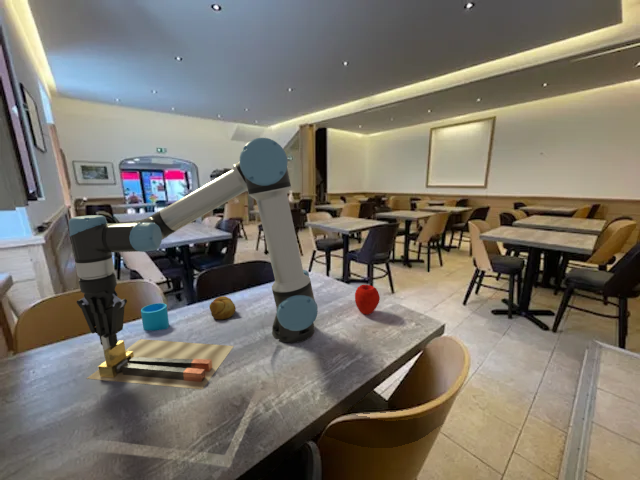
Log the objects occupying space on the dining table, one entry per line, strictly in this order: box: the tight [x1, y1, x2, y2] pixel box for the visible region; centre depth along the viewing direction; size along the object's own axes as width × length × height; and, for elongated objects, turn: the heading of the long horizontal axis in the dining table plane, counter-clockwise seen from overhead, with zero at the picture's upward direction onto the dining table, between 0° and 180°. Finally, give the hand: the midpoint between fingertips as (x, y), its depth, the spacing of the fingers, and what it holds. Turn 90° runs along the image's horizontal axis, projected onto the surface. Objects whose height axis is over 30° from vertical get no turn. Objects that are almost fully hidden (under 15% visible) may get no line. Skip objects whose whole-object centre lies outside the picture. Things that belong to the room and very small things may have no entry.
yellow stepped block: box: [97, 340, 134, 378], centre depth 76 cm, size 4×7×7 cm, turn 173°
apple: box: [354, 284, 381, 316], centre depth 112 cm, size 10×10×12 cm
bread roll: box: [208, 295, 237, 321], centre depth 112 cm, size 13×10×8 cm
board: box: [86, 338, 235, 390], centre depth 81 cm, size 33×19×2 cm, turn 83°
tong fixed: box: [115, 358, 205, 382], centre depth 75 cm, size 28×4×2 cm, turn 83°
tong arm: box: [129, 357, 212, 372], centre depth 77 cm, size 23×2×2 cm, turn 87°
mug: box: [140, 302, 170, 332], centre depth 103 cm, size 12×8×8 cm
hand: (111, 355), depth 76 cm, fingers closed
